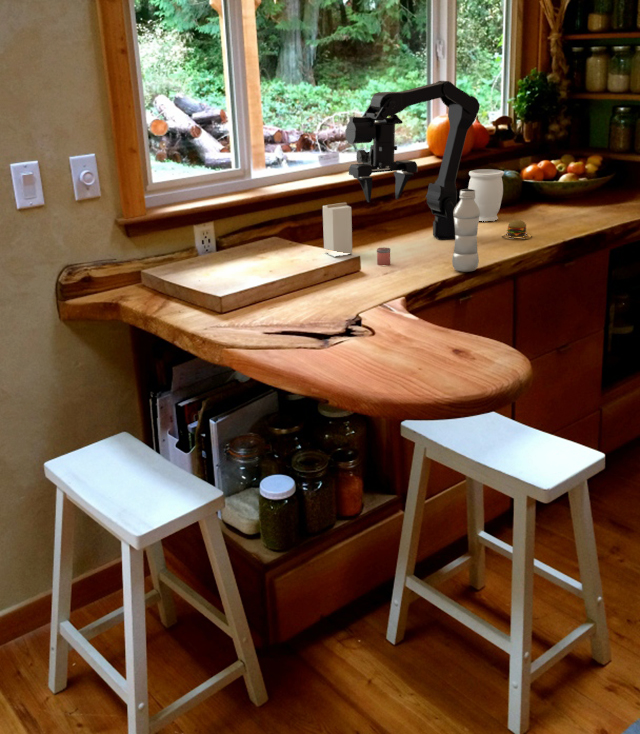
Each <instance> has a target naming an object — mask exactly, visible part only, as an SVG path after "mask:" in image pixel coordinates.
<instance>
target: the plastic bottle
mask: <svg viewBox="0 0 640 734" xmlns="http://www.w3.org/2000/svg"><path fill="white" fill-rule="evenodd" d="M458 197H459V201H458V202H457V203H458V204H457V205H456V207H455V208H454V211H453V216H454V224H455V239H454V246H453V247H454V248H453V254H452V258H451V259H452V260H451V263H452V267H453V269H454V270H455V271H458V272H465V273H468V272H469V273H470V272H474V271H476V269H478V267H479V264H480V263H479V262H480V261H479V253H478V229H479V228H478V227H479V223H480V222H479V216H480V210H479V207H478V205H477V204H476V202H475V201H474V198H475V190H474V189H468V188H464V189H460V190H459V196H458Z"/></svg>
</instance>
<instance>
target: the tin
mask: <svg viewBox="0 0 640 734" xmlns="http://www.w3.org/2000/svg"><path fill="white" fill-rule="evenodd" d="M376 262H377V263H376V264H377V266H379V265H388V266H391V248H390V247H378V248H376Z"/></svg>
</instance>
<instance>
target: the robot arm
mask: <svg viewBox="0 0 640 734" xmlns="http://www.w3.org/2000/svg"><path fill="white" fill-rule="evenodd" d="M436 99H440V100H441V102H442V104H444V105H445V107H447V108H448V112H447V113H448V114H447V117H448V122H449V131H448V135H447V139H446V142H445V143H446V144H445V149H444V151H443V156H442V161H441V165H440V169H439V173H438V176H437V179H436V180H435V181H434V183H431V182H430V183H428V186H427V187H428V188H427V193H426V195H425V198H426V204H427V205H428V208H430V210H431V211H430V212H431V214H432V215H434V220H433V222H432V235H433V237H434V238H436V239H437V240H439V241H441V240H452V239H453V240H455V224H454V216H453V211H454V208H455V207H456V205H457V204H458V202H457V199H458V191H457V186H456V179H457V177H458V176H457V175H458V171H459V168H460V162H461V157H462V154H463V152H464V151H463V150H464V146H465V144H466V143H465V141H466V138H467V134H468V131H469V130H470V128H471V127H472V125H473V124H474V123H475V121H476V119H477V116H478V113H479V111H480V106H481V105H480V102H479V100H478V99H477V97H476V96H472V95H469V94H468V93H467V92H465V91H464V90H461V89H460V88H459V87H457V86H456V84H453V83H452V82H451V81H449V80H438V81H436V82H433V83H429V84H426V85H422V86H418V87H414V88H410V89H406V90H402V91H382V92H381V91H379V92H376V93H374V94H373V95H372V97H371V100H370V103H369V105H368V107H367V109H366V110H365V112H364V113H363V115H362V116H349V120H348V122H347V124H346V128H345V132H344V134H345V138H346V141H347V143H348V144H349V145H350V144H351V145H352V144H369V143H372V141H373V143H372V144H371V145H370V147H369V151H366V150H365V149H358V150H357V151H356V162H357V163H350V165H349V168H348V175H350V176H352V177H353V178H354V179H357V181H358V182H359V184H360V185H361V188H362V190H363V191H362V192H363V194H364V197H365V200H366V202H367V203H371V198H372V191H373V190H372V189H373V188H372V187H373V179H374V178H373V177H372V174H373V173H385V172H393V175H394V178H395V187H394V188H395V189H394V195H395V196H394V197H395V199H396V200H399V199H400V198H401V195H402V193H403V191H404V189H405V187H406V185H407V184H408V182H409V179H410V178H411V177H413V176H414V173H418V167H419V166H418V164H417V162H416V160H415V161H413V160H410V159H402V160H401V159H399V160H396V161H395V151H397V150H398V146H397V145H395V144H396V143H395V141H396V125H401V124H403V120H402V119H401V118H400V117H399V116H398V115H397V114H398V113H401V112H403V111H404V110H406V108H408V107H410V106H414V105H417V104H421V103H424V102H429V101H432V100H433V101H434V100H436Z"/></svg>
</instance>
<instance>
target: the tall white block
mask: <svg viewBox="0 0 640 734" xmlns="http://www.w3.org/2000/svg"><path fill="white" fill-rule="evenodd" d="M322 227H323V250H324V249H329V250H333V251H337V252H343V253H350V254H352V255H353V232H352V231H353V228H352V227H353V224H352V206H350V205H348V203H347V202H338V203H333V204H326V205H322Z"/></svg>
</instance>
